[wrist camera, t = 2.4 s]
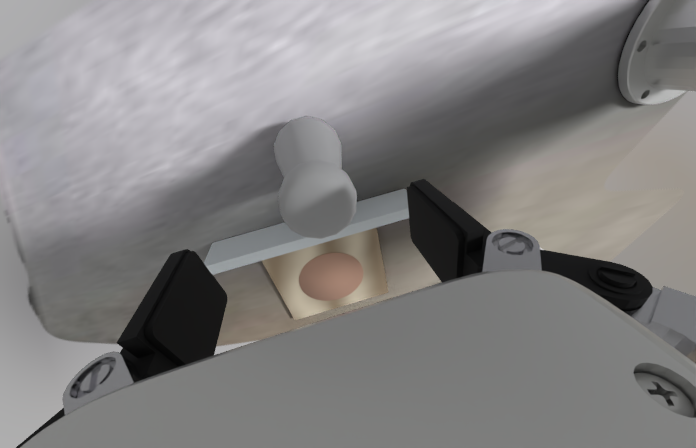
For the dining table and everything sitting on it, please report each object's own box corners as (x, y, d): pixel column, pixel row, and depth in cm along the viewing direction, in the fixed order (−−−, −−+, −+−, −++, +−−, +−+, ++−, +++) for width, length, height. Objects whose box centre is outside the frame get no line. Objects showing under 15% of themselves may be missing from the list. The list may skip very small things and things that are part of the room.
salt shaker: (322, 182, 26) (344, 266, 15) (267, 161, 24) (247, 242, 13) (347, 128, 23) (394, 183, 13) (288, 99, 21) (284, 135, 10)
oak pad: (375, 223, 30) (376, 226, 29) (387, 289, 37) (388, 292, 36) (261, 256, 29) (260, 260, 29) (294, 316, 36) (294, 320, 36)
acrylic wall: (404, 188, 28) (419, 205, 25) (405, 197, 29) (420, 214, 25) (212, 242, 27) (201, 267, 24) (218, 251, 28) (208, 276, 25)
